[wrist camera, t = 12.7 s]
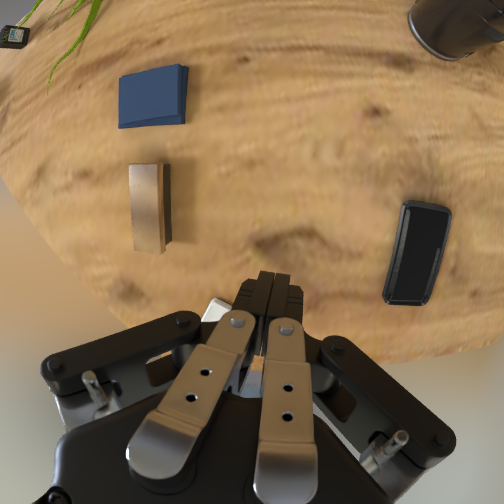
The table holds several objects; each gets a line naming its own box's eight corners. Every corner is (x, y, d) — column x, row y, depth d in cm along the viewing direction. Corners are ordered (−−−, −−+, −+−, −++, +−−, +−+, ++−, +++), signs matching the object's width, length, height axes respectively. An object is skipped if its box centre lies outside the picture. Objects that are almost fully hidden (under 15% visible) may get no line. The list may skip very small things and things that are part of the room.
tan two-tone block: (144, 161, 34) (128, 164, 31) (171, 160, 34) (157, 163, 30) (147, 240, 39) (134, 250, 36) (173, 244, 39) (161, 254, 35)
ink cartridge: (26, 45, 27) (0, 43, 20) (21, 49, 28) (-4, 47, 20) (30, 28, 25) (5, 24, 18) (25, 32, 26) (0, 29, 18)
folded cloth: (126, 76, 30) (117, 74, 28) (189, 67, 28) (182, 63, 26) (122, 128, 33) (113, 128, 31) (184, 124, 32) (177, 123, 30)
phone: (382, 304, 35) (405, 201, 29) (380, 300, 36) (402, 199, 30) (427, 306, 34) (454, 209, 28) (424, 302, 35) (450, 207, 29)
